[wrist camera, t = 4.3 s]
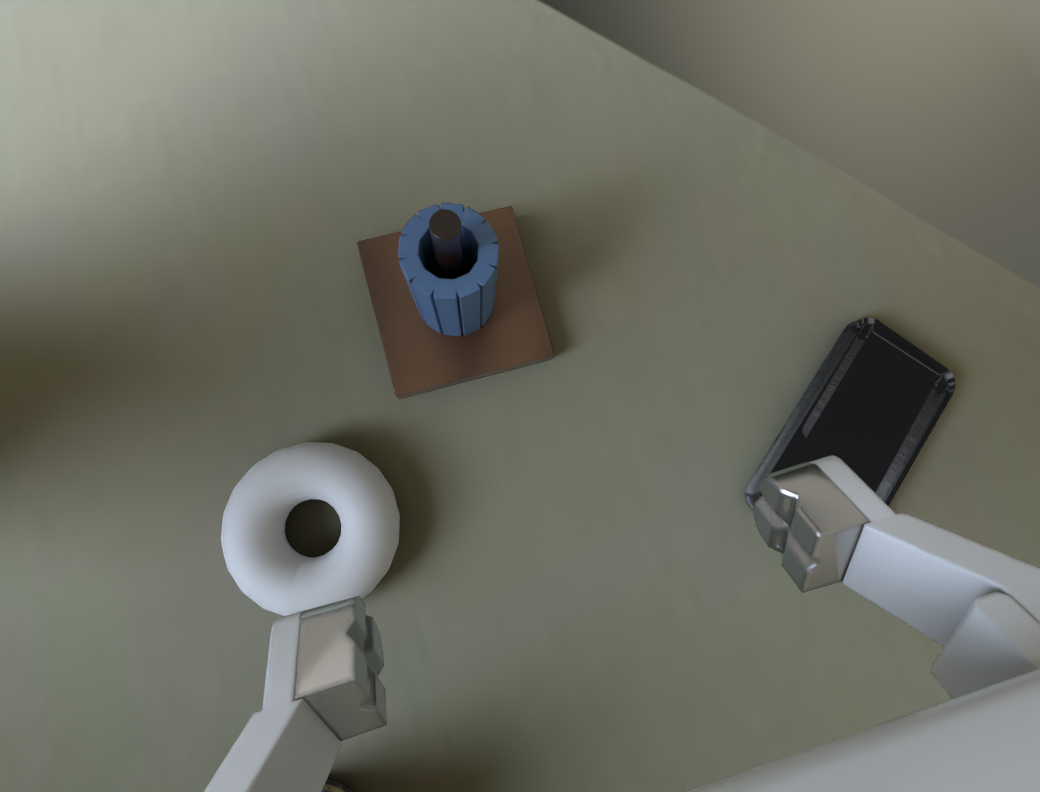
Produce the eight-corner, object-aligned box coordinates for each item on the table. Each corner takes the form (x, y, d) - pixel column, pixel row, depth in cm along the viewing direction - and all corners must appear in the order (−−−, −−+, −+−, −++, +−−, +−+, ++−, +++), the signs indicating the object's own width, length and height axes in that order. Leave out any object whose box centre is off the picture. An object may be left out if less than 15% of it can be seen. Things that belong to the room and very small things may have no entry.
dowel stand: (399, 399, 36) (357, 364, 23) (361, 250, 37) (301, 142, 24) (551, 359, 37) (587, 305, 24) (510, 215, 38) (525, 94, 25)
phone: (961, 378, 37) (849, 573, 35) (947, 381, 39) (838, 570, 36) (862, 309, 37) (745, 499, 35) (851, 314, 39) (736, 498, 36)
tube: (400, 307, 35) (378, 261, 27) (445, 246, 36) (435, 184, 28) (465, 351, 35) (462, 317, 27) (509, 288, 36) (517, 238, 28)
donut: (394, 433, 36) (228, 453, 35) (387, 429, 32) (202, 452, 31) (412, 596, 35) (241, 622, 34) (406, 610, 31) (215, 640, 30)
